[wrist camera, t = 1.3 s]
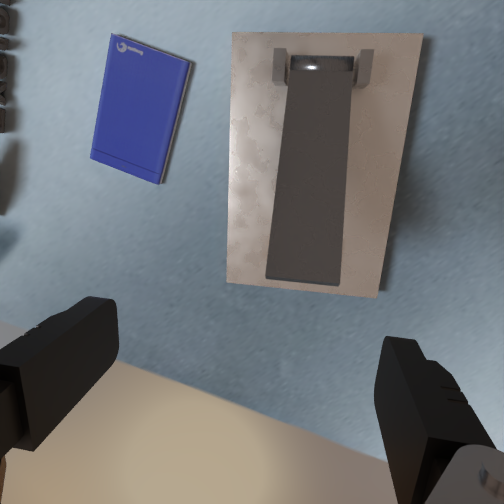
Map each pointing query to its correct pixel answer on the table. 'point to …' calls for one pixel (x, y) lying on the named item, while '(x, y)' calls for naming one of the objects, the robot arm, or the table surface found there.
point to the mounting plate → (359, 148)
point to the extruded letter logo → (3, 59)
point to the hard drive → (138, 108)
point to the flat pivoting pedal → (312, 172)
